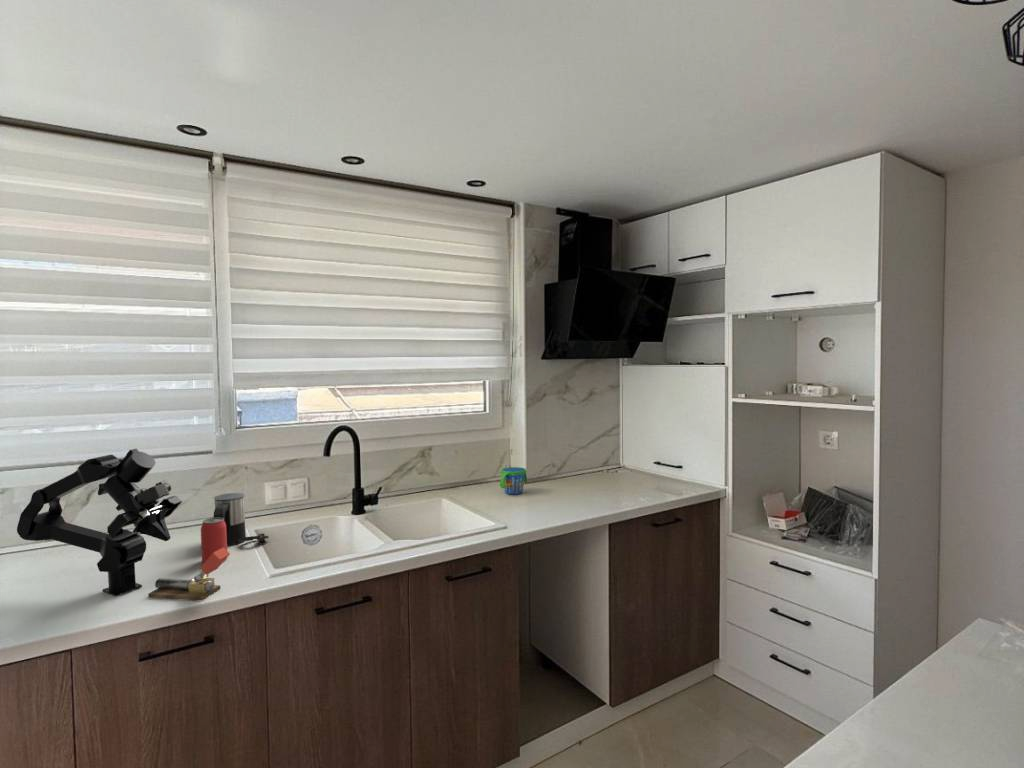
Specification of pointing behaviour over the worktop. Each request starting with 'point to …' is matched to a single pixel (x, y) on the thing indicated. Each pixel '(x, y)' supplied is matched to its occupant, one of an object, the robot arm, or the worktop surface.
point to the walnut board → (180, 594)
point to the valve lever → (212, 563)
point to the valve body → (186, 585)
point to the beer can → (213, 536)
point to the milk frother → (234, 517)
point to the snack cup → (513, 480)
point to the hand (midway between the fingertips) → (168, 539)
